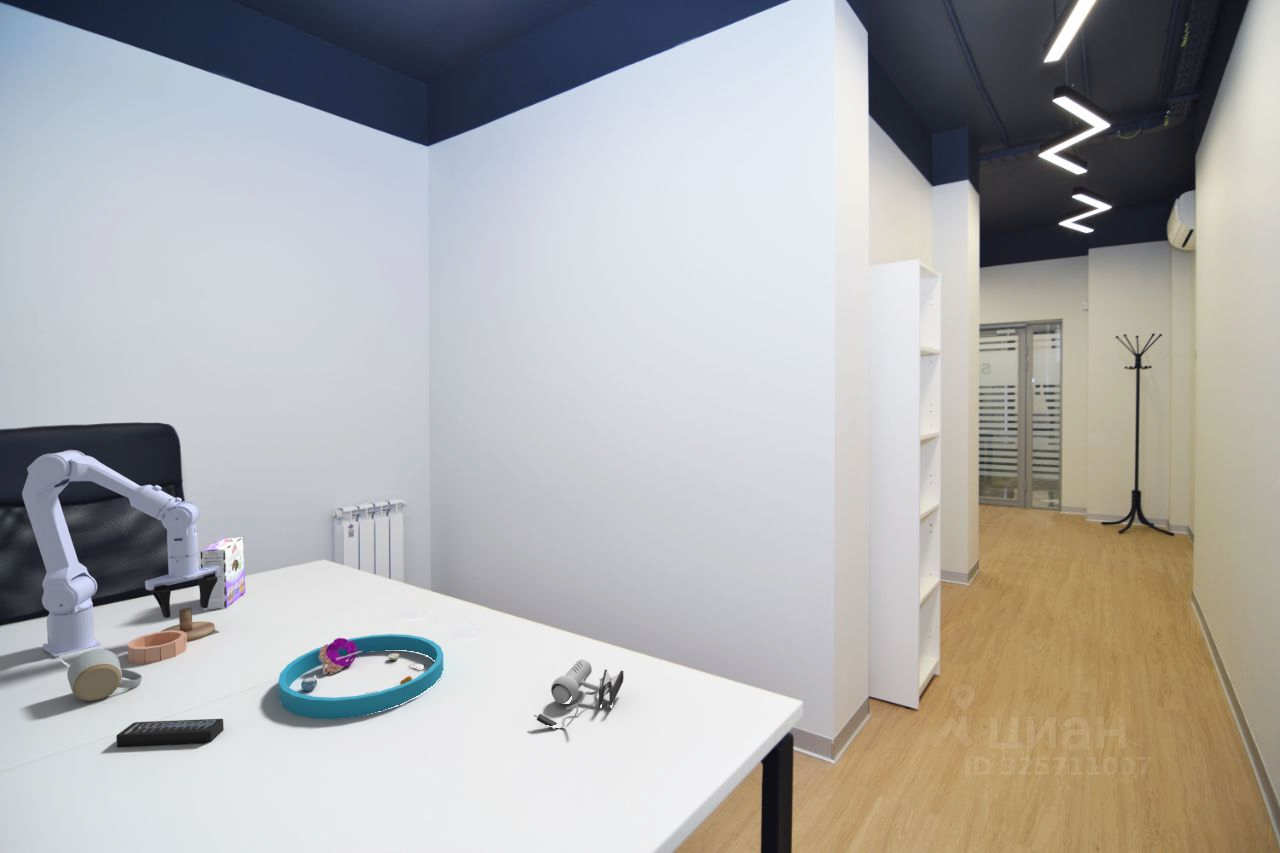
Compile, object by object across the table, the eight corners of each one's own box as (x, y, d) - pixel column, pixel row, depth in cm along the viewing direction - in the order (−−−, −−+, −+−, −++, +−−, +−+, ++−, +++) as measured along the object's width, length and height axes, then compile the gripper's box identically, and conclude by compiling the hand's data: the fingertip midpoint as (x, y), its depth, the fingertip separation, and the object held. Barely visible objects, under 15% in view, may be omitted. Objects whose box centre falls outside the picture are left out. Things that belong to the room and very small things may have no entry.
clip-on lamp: (581, 755, 106) (629, 687, 121) (580, 724, 104) (628, 660, 119) (524, 732, 111) (576, 670, 126) (521, 702, 109) (575, 643, 124)
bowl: (121, 657, 136) (120, 641, 135) (175, 642, 144) (174, 627, 144) (139, 669, 130) (139, 652, 130) (194, 652, 139) (194, 636, 138)
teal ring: (381, 640, 147) (380, 616, 146) (474, 671, 131) (473, 643, 131) (246, 694, 121) (245, 664, 120) (342, 739, 105) (341, 705, 105)
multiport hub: (209, 745, 103) (209, 732, 103) (115, 749, 102) (114, 736, 102) (224, 731, 108) (224, 718, 108) (134, 734, 106) (134, 721, 106)
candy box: (222, 595, 177) (220, 537, 176) (246, 593, 178) (244, 536, 177) (201, 612, 163) (198, 549, 162) (226, 610, 165) (224, 548, 164)
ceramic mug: (72, 709, 114) (71, 668, 114) (67, 694, 120) (66, 654, 119) (146, 690, 122) (145, 651, 121) (138, 676, 127) (137, 639, 127)
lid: (148, 636, 146) (147, 611, 146) (202, 622, 155) (201, 598, 155) (168, 647, 140) (167, 621, 140) (223, 631, 149) (222, 607, 149)
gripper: (153, 564, 138) (156, 625, 139) (225, 550, 150) (227, 606, 151) (140, 560, 142) (143, 618, 143) (211, 546, 154) (214, 600, 155)
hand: (185, 611), depth 147 cm, fingers open, 7 cm apart
